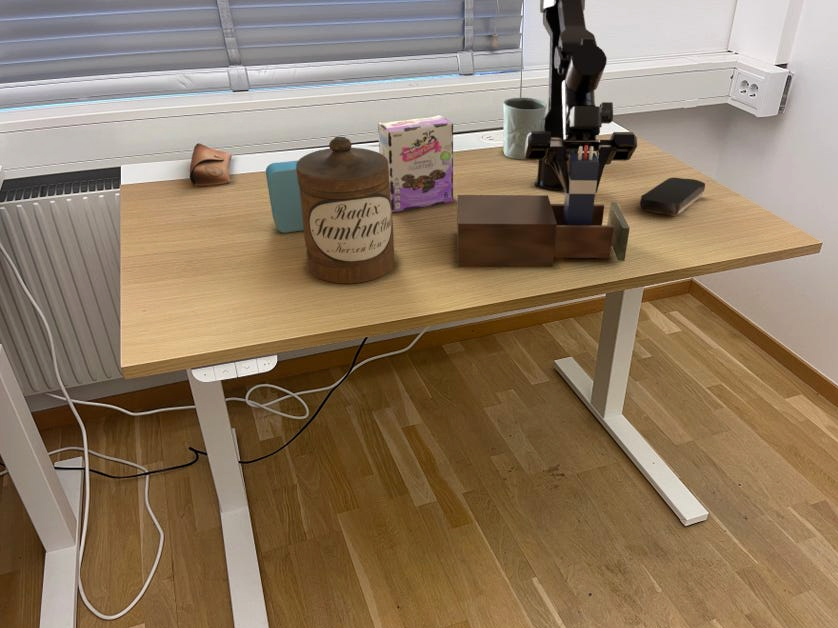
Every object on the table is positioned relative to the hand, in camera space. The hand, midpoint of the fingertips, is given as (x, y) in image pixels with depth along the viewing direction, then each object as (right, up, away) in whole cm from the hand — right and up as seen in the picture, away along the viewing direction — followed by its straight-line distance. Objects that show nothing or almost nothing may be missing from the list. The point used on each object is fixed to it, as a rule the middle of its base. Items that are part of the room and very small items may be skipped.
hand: (581, 192), depth 120 cm
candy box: (-30, +4, +25) cm, 39 cm away
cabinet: (-13, -9, +7) cm, 17 cm away
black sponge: (+23, +3, +27) cm, 35 cm away
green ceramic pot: (-7, +21, +51) cm, 55 cm away
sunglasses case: (-77, +13, +37) cm, 87 cm away
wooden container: (-40, -12, +2) cm, 42 cm away
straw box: (0, -5, +5) cm, 7 cm away
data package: (-51, -3, +15) cm, 53 cm away
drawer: (+1, -8, +7) cm, 11 cm away
